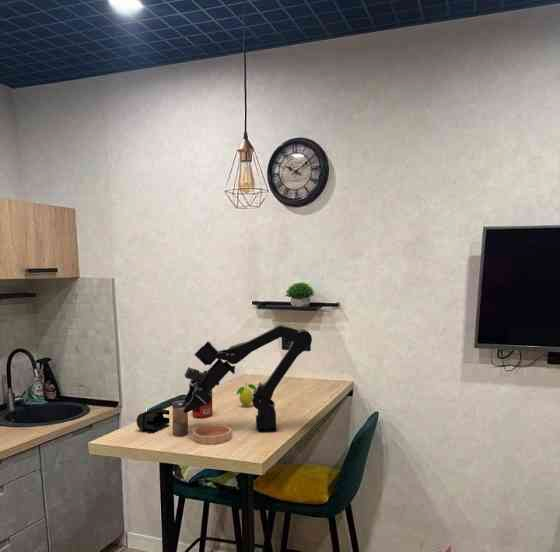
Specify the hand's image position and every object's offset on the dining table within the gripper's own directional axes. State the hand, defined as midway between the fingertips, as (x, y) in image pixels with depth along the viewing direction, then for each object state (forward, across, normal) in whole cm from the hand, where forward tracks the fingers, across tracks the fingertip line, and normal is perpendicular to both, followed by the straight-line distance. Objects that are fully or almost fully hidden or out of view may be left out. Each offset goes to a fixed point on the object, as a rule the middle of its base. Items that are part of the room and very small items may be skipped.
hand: (183, 408), depth 165 cm
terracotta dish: (0, +8, +12) cm, 15 cm away
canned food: (0, -20, +13) cm, 23 cm away
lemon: (-14, -27, +26) cm, 40 cm away
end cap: (+13, -9, 0) cm, 16 cm away
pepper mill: (+7, 0, +6) cm, 9 cm away
